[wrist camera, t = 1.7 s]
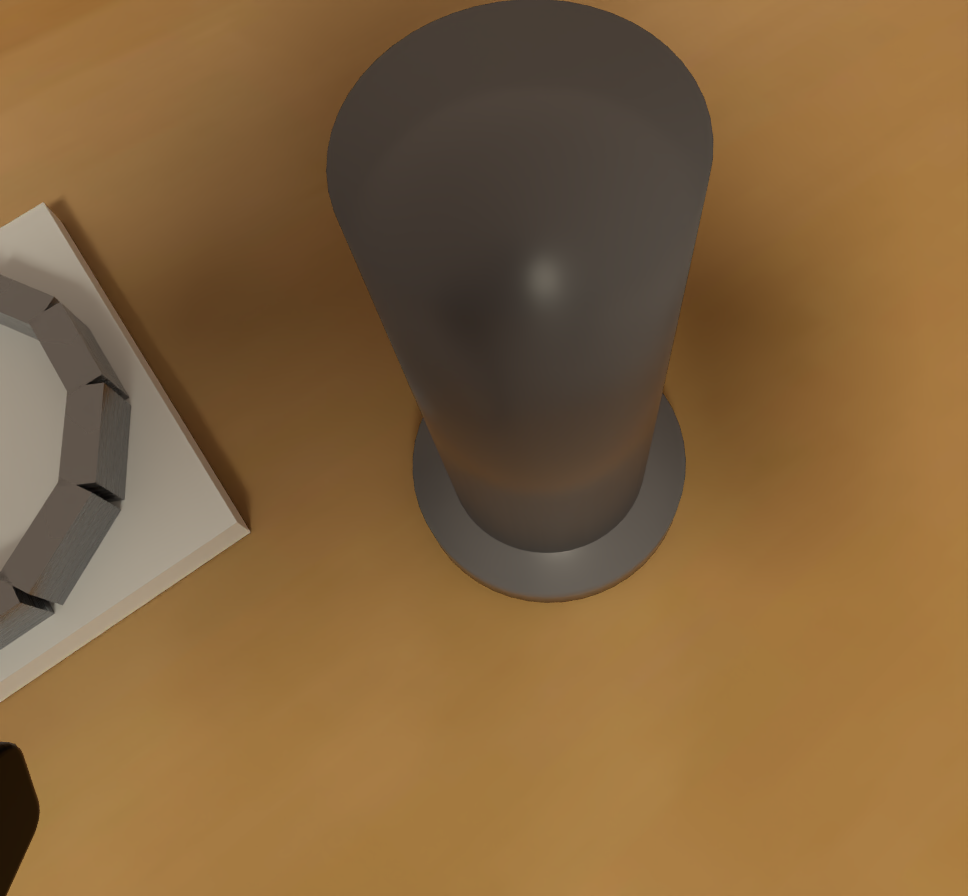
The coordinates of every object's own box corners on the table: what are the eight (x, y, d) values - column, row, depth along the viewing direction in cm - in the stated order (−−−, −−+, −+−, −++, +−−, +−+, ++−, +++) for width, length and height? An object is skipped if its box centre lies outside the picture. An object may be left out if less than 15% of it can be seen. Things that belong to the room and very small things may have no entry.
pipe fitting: (736, 498, 22) (920, 173, 10) (518, 657, 22) (443, 507, 9) (573, 313, 25) (569, -125, 13) (372, 450, 24) (163, 118, 12)
